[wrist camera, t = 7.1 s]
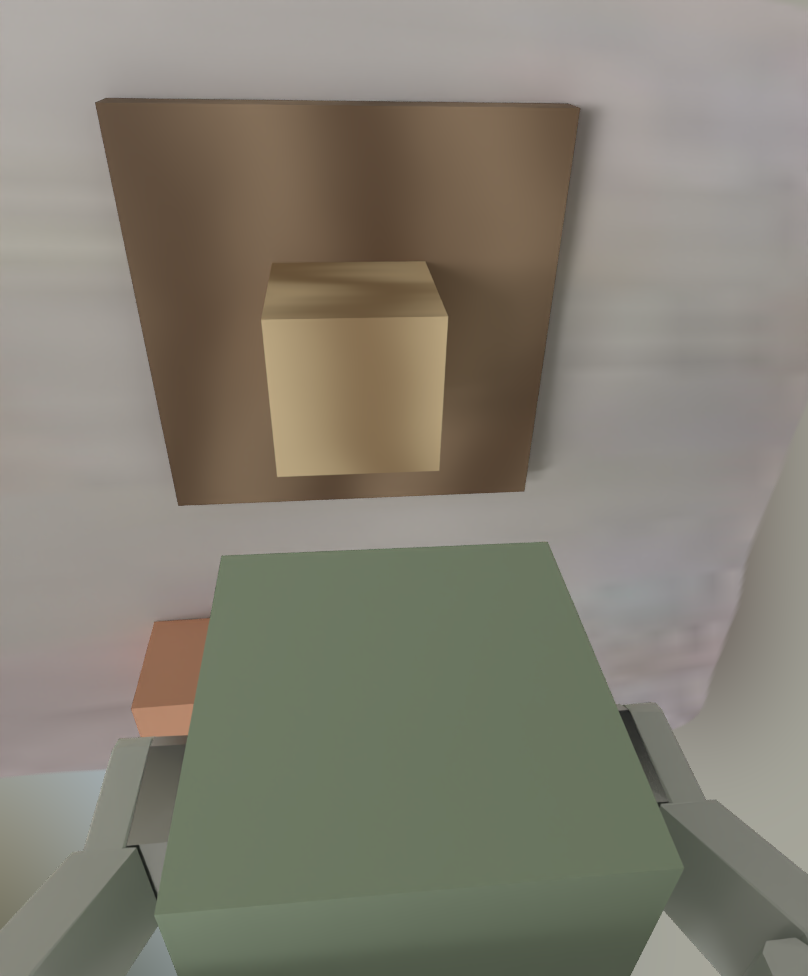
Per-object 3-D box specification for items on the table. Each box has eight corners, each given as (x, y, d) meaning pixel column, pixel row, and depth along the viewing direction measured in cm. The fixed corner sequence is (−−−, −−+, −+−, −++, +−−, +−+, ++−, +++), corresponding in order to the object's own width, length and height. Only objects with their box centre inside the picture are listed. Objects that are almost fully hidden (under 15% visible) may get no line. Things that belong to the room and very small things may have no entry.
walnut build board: (183, 488, 28) (153, 593, 23) (105, 98, 20) (34, 127, 15) (517, 475, 30) (558, 571, 24) (568, 103, 22) (644, 132, 17)
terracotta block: (174, 690, 35) (155, 779, 31) (154, 620, 32) (130, 708, 28) (272, 682, 36) (266, 769, 32) (262, 613, 33) (254, 699, 29)
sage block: (254, 756, 13) (223, 1093, 9) (221, 556, 10) (153, 915, 6) (511, 738, 14) (592, 1051, 10) (547, 541, 11) (684, 868, 7)
